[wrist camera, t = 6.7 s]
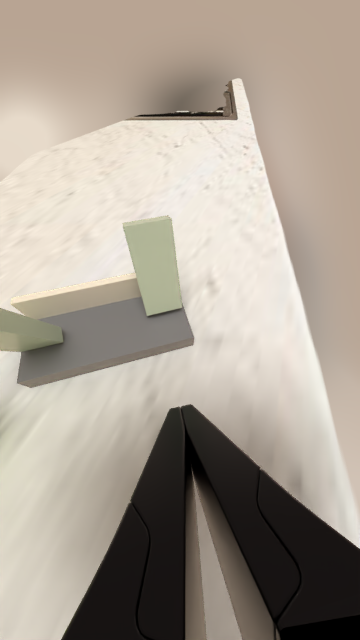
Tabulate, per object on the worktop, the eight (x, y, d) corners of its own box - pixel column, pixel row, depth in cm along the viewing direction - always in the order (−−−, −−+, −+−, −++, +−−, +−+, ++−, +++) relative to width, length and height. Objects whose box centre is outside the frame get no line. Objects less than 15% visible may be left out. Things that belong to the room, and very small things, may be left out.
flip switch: (182, 307, 22) (171, 218, 16) (147, 315, 21) (123, 227, 15) (178, 300, 23) (167, 215, 17) (145, 308, 22) (122, 223, 17)
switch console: (193, 344, 22) (195, 322, 18) (31, 387, 20) (-13, 373, 16) (175, 292, 26) (173, 263, 22) (38, 323, 24) (5, 297, 20)
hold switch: (63, 342, 20) (-15, 328, 11) (22, 352, 20) (-93, 345, 11) (61, 327, 20) (-17, 302, 12) (20, 336, 20) (-93, 318, 11)
